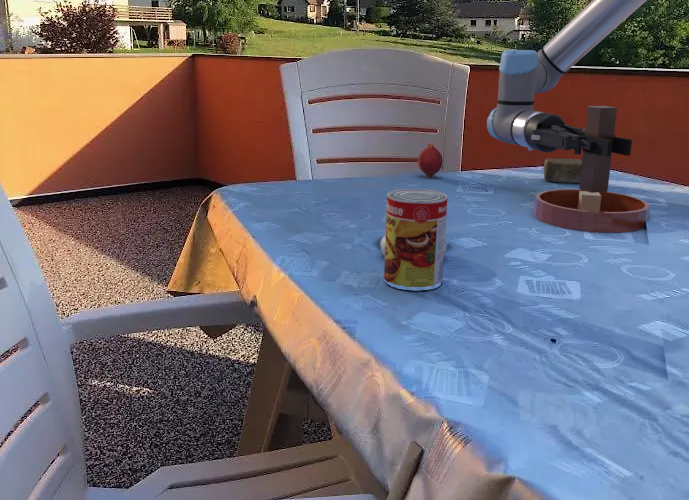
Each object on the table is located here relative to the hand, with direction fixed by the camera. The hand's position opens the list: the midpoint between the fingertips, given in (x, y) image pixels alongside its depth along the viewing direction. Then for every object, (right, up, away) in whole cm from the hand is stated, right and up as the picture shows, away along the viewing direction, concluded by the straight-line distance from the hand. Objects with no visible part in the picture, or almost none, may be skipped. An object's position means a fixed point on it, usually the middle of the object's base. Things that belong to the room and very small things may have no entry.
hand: (619, 148), depth 122 cm
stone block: (+5, -2, +44) cm, 44 cm away
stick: (-2, -7, +7) cm, 10 cm away
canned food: (-38, -22, -26) cm, 51 cm away
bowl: (-3, -12, +8) cm, 15 cm away
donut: (-37, -19, -15) cm, 44 cm away
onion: (-27, 0, +46) cm, 53 cm away
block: (-1, -10, +13) cm, 16 cm away
